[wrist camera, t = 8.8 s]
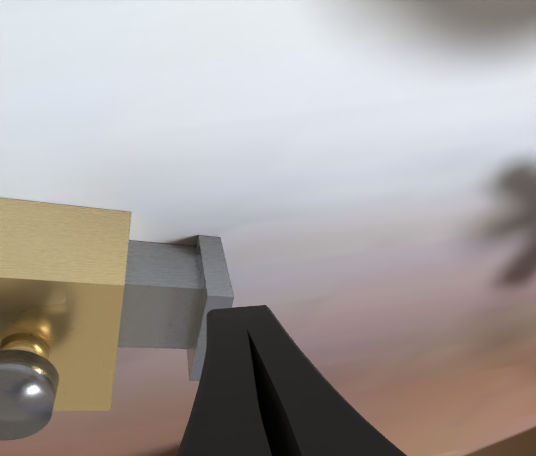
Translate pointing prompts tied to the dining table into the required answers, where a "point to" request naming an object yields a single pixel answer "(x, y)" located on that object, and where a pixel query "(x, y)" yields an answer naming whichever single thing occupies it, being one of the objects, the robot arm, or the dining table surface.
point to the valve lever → (25, 393)
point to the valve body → (101, 294)
